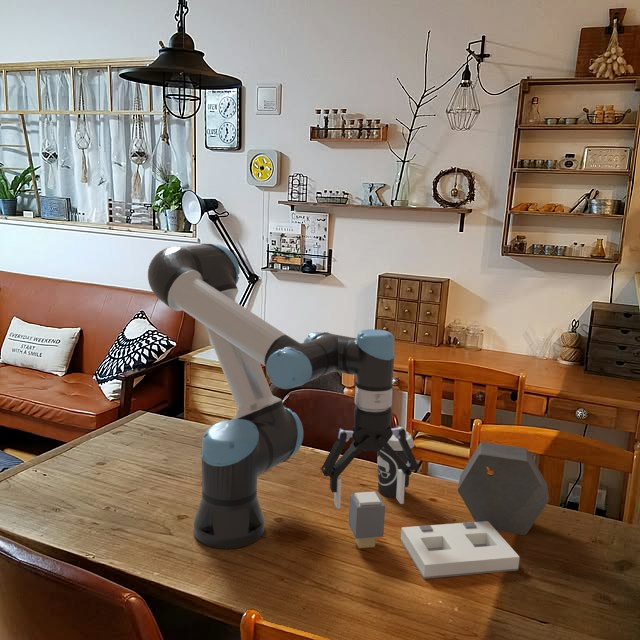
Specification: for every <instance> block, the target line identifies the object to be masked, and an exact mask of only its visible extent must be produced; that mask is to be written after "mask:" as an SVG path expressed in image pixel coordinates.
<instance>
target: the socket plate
mask: <svg viewBox="0 0 640 640" xmlns="http://www.w3.org/2000/svg"><path fill="white" fill-rule="evenodd" d="M400 542H401V543H402V545H403V546H404V549H405V551H407V553H408V555H409V557H410V558H411V559H412V562H413V564H414V565H415V566H416V568H417V570H418V571H419V573H420V575H421V576H422V579H423V580H426V579H437V578H449V577H457V576H458V577H459V576H470V575H472V576H473V575H481V574H492V573H493V574H494V573H503V572H514V571H515V572H516V571H519V565H520V556H519V554H518V553H517V552H516V551H515V550H514V549H513V548H512V547H511V545H510V544H509V543H508V542H507V541H506V540H505V539H504V537H503V536H502V535H501V534H500V533H499V531H496V530H495V529H494V527H493V526H492V525H491V524H490V523H489V522H488V521H482V522H475V521H471V522H458V523H457V522H456V523H455V522H454V523H444V524H441V523H440V524H431V525H430V524H429V525H416V526H415V525H414V526H402V527H401V529H400Z"/></svg>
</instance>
